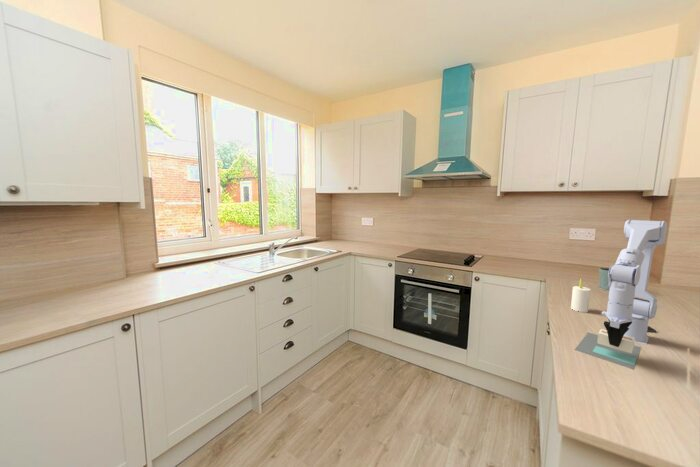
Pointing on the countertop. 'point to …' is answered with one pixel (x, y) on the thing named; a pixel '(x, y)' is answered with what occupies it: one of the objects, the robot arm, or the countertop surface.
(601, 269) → the green pot
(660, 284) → the countertop surface
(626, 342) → the card box
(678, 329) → the countertop surface
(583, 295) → the candle
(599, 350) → the mat
